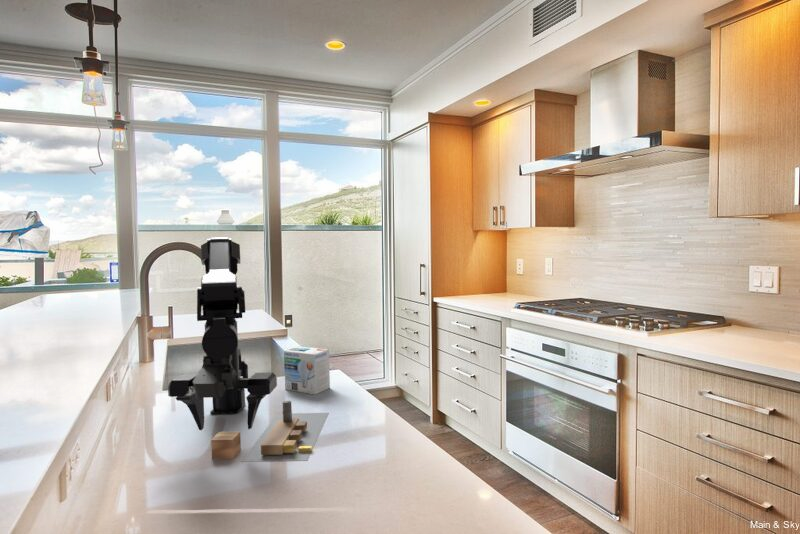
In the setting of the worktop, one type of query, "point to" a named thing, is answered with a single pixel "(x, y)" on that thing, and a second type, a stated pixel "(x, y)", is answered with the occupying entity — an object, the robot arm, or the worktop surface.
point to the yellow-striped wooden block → (226, 445)
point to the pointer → (305, 449)
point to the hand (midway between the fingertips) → (225, 429)
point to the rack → (284, 434)
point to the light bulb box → (307, 369)
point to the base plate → (308, 439)
